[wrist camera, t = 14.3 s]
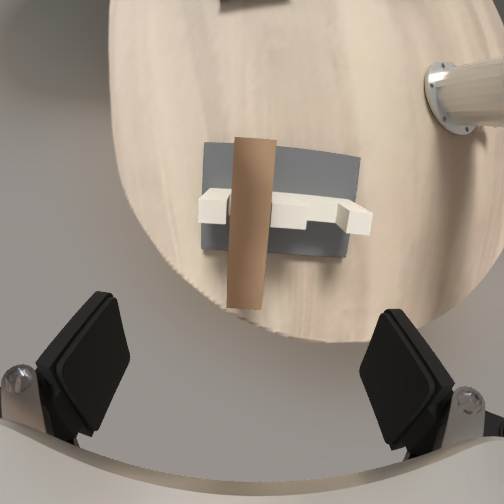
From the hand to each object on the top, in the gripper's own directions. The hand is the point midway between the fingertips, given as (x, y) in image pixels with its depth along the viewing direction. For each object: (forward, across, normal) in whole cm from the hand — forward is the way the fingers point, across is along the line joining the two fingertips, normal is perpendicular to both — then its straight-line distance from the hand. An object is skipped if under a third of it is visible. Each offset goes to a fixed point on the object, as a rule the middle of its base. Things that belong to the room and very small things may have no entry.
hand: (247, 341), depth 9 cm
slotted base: (+28, -4, 0) cm, 28 cm away
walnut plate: (+27, 0, 0) cm, 27 cm away
